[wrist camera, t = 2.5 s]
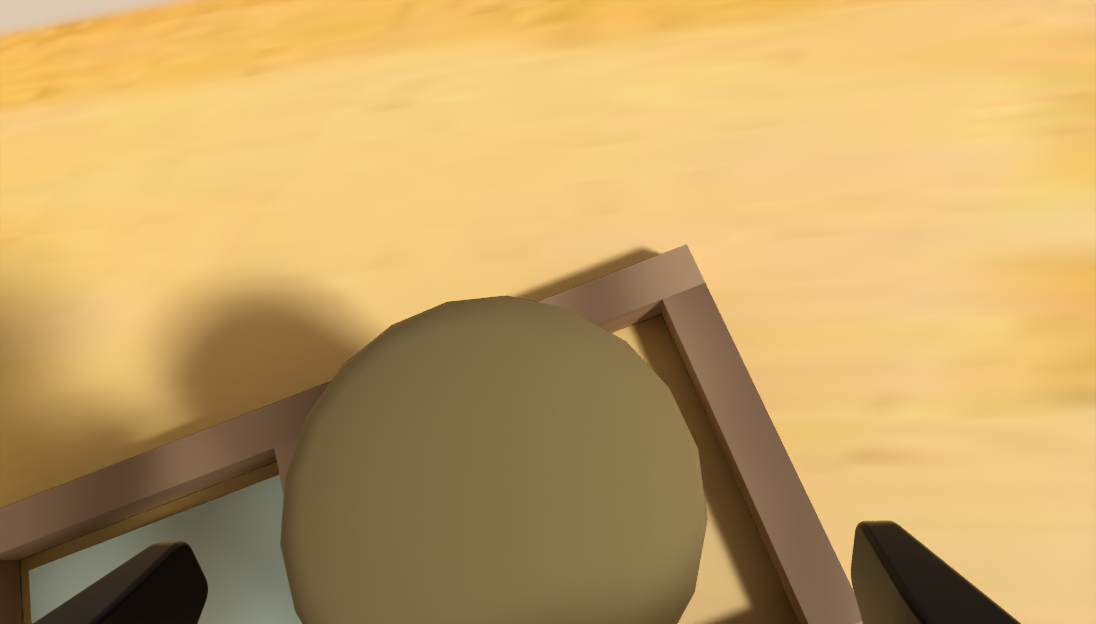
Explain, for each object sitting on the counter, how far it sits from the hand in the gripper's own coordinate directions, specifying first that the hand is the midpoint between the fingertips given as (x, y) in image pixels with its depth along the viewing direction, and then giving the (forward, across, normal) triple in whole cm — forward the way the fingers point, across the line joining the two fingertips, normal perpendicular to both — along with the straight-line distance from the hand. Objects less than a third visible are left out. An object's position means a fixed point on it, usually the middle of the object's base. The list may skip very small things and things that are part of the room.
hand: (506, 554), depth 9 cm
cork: (+7, 0, +6) cm, 9 cm away
